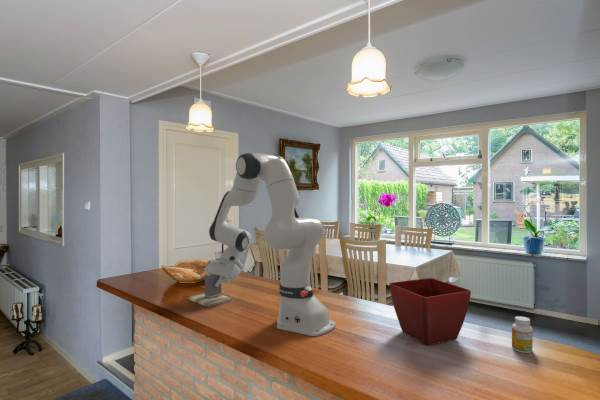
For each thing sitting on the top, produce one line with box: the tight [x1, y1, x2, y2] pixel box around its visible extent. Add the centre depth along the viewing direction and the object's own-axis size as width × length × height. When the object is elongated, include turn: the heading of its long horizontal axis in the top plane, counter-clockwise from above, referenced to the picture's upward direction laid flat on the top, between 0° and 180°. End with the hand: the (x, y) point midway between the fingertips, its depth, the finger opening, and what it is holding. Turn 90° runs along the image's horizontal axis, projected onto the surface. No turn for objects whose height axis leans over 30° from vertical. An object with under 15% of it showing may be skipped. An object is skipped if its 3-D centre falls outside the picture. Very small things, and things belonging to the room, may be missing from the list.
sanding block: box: [204, 274, 222, 298], centre depth 161 cm, size 4×6×9 cm
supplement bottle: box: [511, 316, 534, 354], centre depth 109 cm, size 5×5×10 cm
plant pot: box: [388, 277, 472, 346], centre depth 119 cm, size 19×19×17 cm
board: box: [187, 292, 233, 308], centre depth 160 cm, size 16×12×1 cm
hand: (211, 285), depth 161 cm, fingers closed on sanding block, 4 cm apart
